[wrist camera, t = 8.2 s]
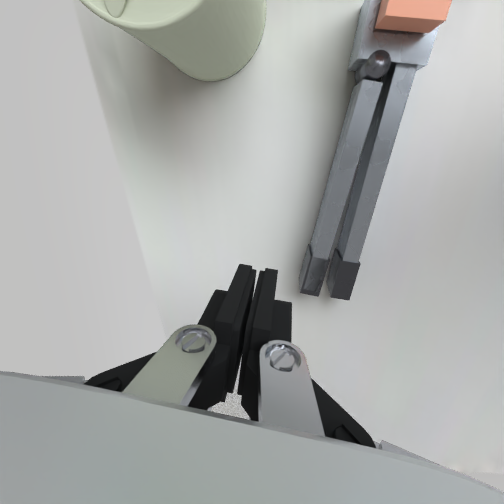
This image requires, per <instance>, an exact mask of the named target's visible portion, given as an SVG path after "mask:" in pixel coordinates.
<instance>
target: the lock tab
mask: <svg viewBox="0 0 504 504" xmlns="http://www.w3.org/2000/svg"><path fill="white" fill-rule="evenodd" d="M451 2H452V0H382V1H381V5H380V9H379V13H378V18H377V22H376V26H375V28H376V29H387V30H398V31H409V32H420V33H430V32H431V31H432V30H434V29H435V28H436V27H438V26H439V25H440V24H442V23H443V22H444V21H446V18H447V14H448V11H449V8H450V5H451Z"/></svg>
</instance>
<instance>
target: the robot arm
mask: <svg viewBox="0 0 504 504" xmlns="http://www.w3.org/2000/svg"><path fill="white" fill-rule="evenodd" d="M277 274H278V270H274V269H268V268H265V271H260V273H259V277H258V281H257V285H256V289H255V293H254V297H253V292H254V285H255V277H256V270H254V269H252V266H250V265H244V264H239V266H238V269H237V271H236V273H235V276H234V278H233V280H232V282H231V285H230V287H229V289H228V291H223V290H215V292H214V293H213V295H212V297H211V299H210V301H209V303H208V305H207V307H206V309H205V311H204V313H203V315H202V317H201V319H200V321H199V322H198V324H197V325H187V326H184V327H182V328H180V329H178V330H177V331H175V332H174V333H173V334H172V335H171V337H170V338H169V339H168V340H167V341H166V342H165V343H164V345H163V346H162V347H161V348H160V349H159V350H158V351H157V352H155V353H152V354H150V355H147V356H145V357H142V358H139V359H137V360H134V361H131V362H129V363H126V364H123V365H121V366H118V367H116V368H113V369H110V370H108V371H105V372H103V373H100V374H98V375H96V376H94V377H92V378H91V379H89V380H85V377H84V376H52V377H51V376H45V377H44V376H35V375H28V374H21V373H15V372H3V371H0V504H504V492H502V491H500V490H499V489H497V488H495V487H493V486H490V485H488V484H486V483H483V482H481V481H479V480H477V479H475V478H473V477H470V476H468V475H466V474H463V473H460V472H457V471H455V470H452V469H449V468H446V467H443V466H441V465H439V464H436V463H434V462H432V461H430V460H427V459H425V458H423V457H420V456H418V455H416V454H413V453H411V452H409V451H406V450H404V449H402V448H399V447H397V446H395V445H392V444H390V443H388V442H386V441H383V440H382V441H381V443H380V444H379V443H377V442H375V441H373V440H372V438H371V436H370V435H369V434H368V433H367V432H366V431H365V429H364V428H363V427H362V426H361V425H360V424H358V423H357V422H356V421H355V420H354V419H353V418H352V417H351V416H350V415H349V414H348V413H347V412H346V411H345V410H344V409H343V408H342V407H341V406H340V405H339V404H338V403H337V402H336V401H334V400H333V399H332V398H331V397H330V396H329V395H328V394H327V393H326V392H325V391H324V390H323V389H322V388H321V387H320V386H319V385H318V384H317V383H316V382H315V381H314V380H313V379H312V378H311V377H310V373H309V369H308V365H307V361H306V358H305V355H304V353H303V352H302V351H301V350H300V348H298V347H297V346H296V345H294V344H292V343H291V327H292V303H291V302H285V301H280V300H274V299H275V290H276V282H277ZM241 357H242V361H241ZM240 361H241V368H240V376H239V384H238V392H237V394H238V395H242V400H241V405H242V407H243V408H244V410H245V411H246V412H247V414H248V415H249V420H247V419H243V418H238V417H234V416H229V415H224V414H220V413H215V412H211V409H212V406H213V405H215V404H217V403H219V402H220V401H221V402H225V399H226V395H227V392H228V393H233V390H234V386H235V382H236V378H237V373H238V369H239V365H240Z"/></svg>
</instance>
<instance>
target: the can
mask: <svg viewBox="0 0 504 504" xmlns="http://www.w3.org/2000/svg"><path fill="white" fill-rule="evenodd" d="M80 1H81V2H82V3H83V4H84V5H85V6H86V7H87V8H88V9H90V10H91V11H92V12H93V13H95V14H96V15H97V16H99V17H100V18H102V19H104V20H105V21H107V22H109V23H111V24H113V25H115V26H117V27H119V28H121V29H123V30H124V31H126V32H127V33H129V34H130V35H132V36H133V37H135V38H137V39H138V40H140V41H141V42H143V43H144V44H146V45H147V46H149V47H150V48H152V49H153V50H155V51H156V52H158V53H159V54H161V55H162V56H164V57H165V58H167V59H168V60H170V61H171V62H172V63H173V64H174V65H175V66H176V67H177V68H178V69H179V70H181V71H182V72H183V73H185V74H186V75H188V76H190V77H192V78H195V79H198V80H203V81H218V80H222V79H225V78H228V77H230V76H232V75H234V74H235V73H237V72H238V71H239V70H241V69H242V68H243V67H244V66H245V65H246V64H247V63H248V61H249V60H250V59H251V58H252V56H253V54H254V53H255V51H256V49H257V47H258V45H259V43H260V40H261V37H262V34H263V30H264V26H265V19H266V0H80Z"/></svg>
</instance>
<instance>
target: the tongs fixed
mask: <svg viewBox="0 0 504 504" xmlns="http://www.w3.org/2000/svg"><path fill="white" fill-rule="evenodd" d="M381 1H382V0H365V1H364V3H363V5H362V7H361V11H360V16H359V21H358V25H357V30H356V35H355V39H354V44H353V48H352V53H351V58H350V62H349V67H348V70H351V71H356V73H355V80H356V83H357V84H358V83H359V82H360V81H362V80H363V79H364V80H370V81H376V80H377V79H378V78H380V77H381V76H382V78H381V82H382V83H383V84H382V87H381V91H380V94H379V97H378V100H377V103H376V107H375V110H374V113H373V116H372V120H371V123H370V126H369V129H368V132H367V136H366V140H365V144H364V147H363V151H362V155H361V159H360V163H359V167H358V170H357V174H356V178H355V182H354V186H353V190H352V193H351V197H350V201H349V205H348V209H347V213H346V216H345V220H344V224H343V228H342V232H341V236H340V239H339V243H338V247H337V249H335V252H334V256H333V259H332V263H331V267H330V271H329V275H328V279H327V286H328V290H329V293H330V297H331V298H337V299H344V300H350V296H351V293H352V290H353V286H354V283H355V280H356V277H357V273H358V270H359V267H360V262H359V258H360V255H361V251H362V248H363V245H364V241H365V238H366V235H367V231H368V228H369V225H370V221H371V218H372V215H373V212H374V208H375V205H376V202H377V198H378V195H379V192H380V188H381V185H382V182H383V178H384V175H385V172H386V168H387V165H388V162H389V158H390V155H391V152H392V149H393V145H394V142H395V139H396V135H397V132H398V129H399V125H400V122H401V119H402V115H403V112H404V109H405V105H406V102H407V99H408V96H409V92H410V89H411V86H412V82H413V79H414V76H415V72H416V71H417V70H419V69H421V68H422V67H424V66H426V65H427V63H428V60H429V57H430V54H431V50H432V47H433V44H434V41H435V38H436V34H437V31H438V28H439V26H438V27H436V28H435V29H434V30H432V31H431V32H430V33H420V32H409V31H398V30H387V29H376V28H375V26H376V22H377V18H378V13H379V9H380V5H381Z"/></svg>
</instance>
